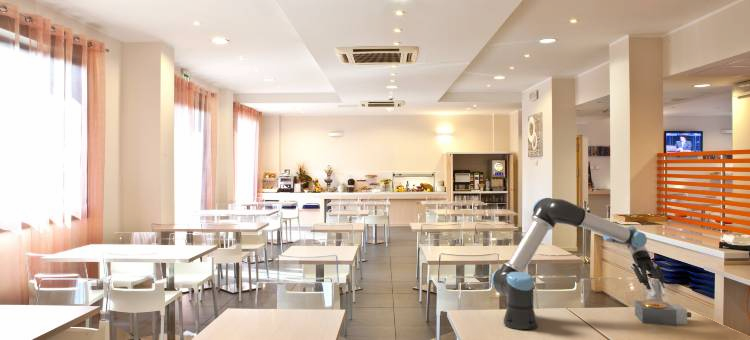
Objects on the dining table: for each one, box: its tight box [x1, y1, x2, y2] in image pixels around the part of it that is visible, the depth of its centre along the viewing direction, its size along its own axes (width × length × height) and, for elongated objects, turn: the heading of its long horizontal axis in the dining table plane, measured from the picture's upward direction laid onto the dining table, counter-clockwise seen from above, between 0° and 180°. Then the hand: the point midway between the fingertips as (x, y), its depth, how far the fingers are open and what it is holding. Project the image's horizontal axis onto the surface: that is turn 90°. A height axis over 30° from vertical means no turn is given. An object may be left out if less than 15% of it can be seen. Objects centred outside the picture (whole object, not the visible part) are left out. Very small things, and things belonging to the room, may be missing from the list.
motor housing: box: [634, 300, 692, 326], centre depth 231 cm, size 22×14×7 cm, turn 75°
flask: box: [645, 278, 664, 302], centre depth 233 cm, size 7×7×10 cm
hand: (659, 295), depth 229 cm, fingers closed on flask, 4 cm apart
